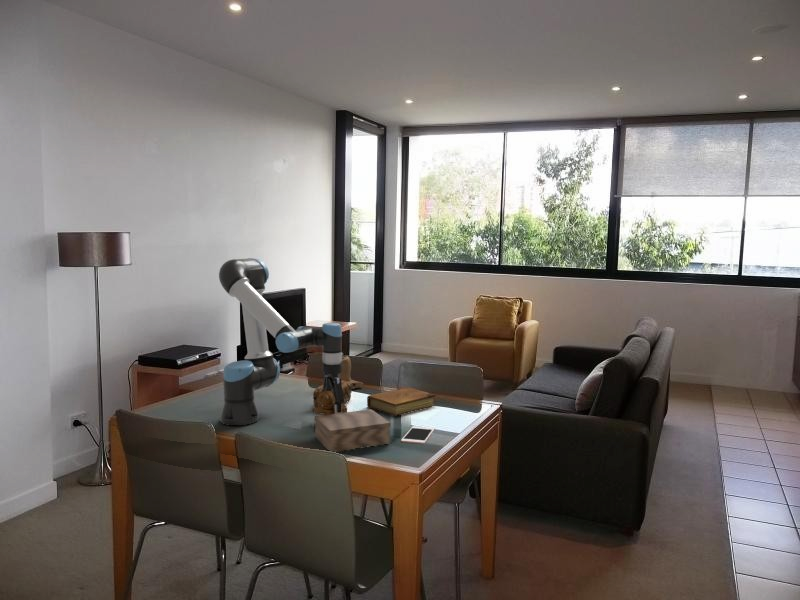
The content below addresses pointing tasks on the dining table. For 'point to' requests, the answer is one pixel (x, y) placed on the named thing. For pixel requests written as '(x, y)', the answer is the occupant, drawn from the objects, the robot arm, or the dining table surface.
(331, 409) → the stuffed squirrel
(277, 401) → the dining table surface
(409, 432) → the cell phone
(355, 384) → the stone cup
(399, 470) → the dining table surface
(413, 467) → the dining table surface
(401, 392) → the diary
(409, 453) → the dining table surface
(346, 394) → the bread
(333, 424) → the walnut box
